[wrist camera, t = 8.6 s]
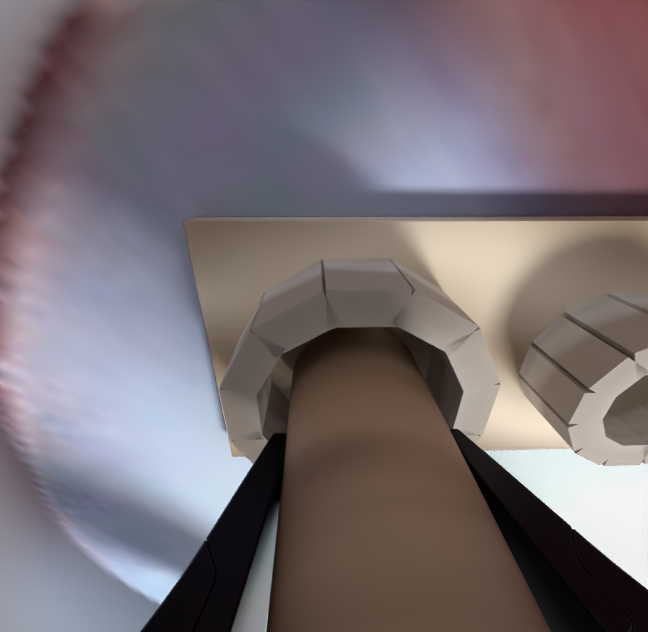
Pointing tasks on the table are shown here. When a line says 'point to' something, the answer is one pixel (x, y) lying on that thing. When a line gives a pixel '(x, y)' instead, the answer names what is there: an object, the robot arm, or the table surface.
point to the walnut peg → (383, 505)
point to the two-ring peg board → (441, 319)
